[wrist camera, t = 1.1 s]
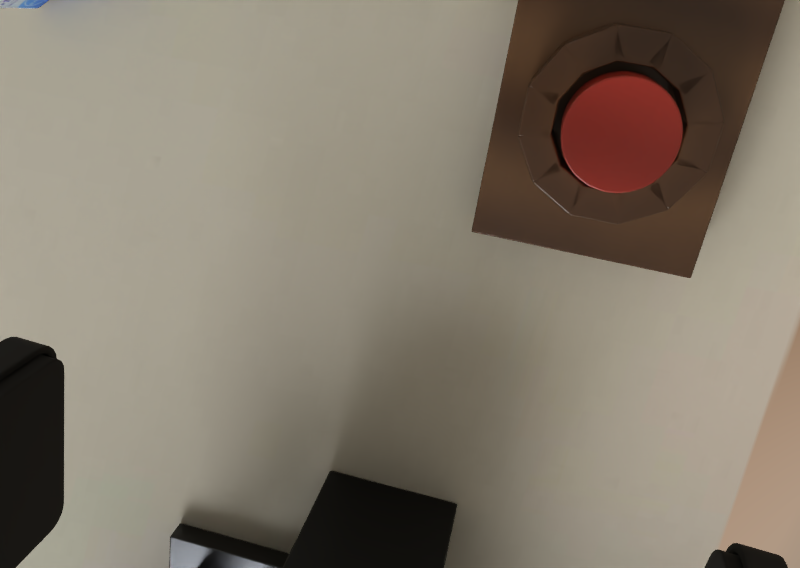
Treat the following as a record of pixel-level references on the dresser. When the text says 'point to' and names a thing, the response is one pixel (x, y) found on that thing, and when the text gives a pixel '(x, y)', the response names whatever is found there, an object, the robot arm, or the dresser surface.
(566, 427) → the dresser surface
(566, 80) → the button block
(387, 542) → the toaster
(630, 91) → the red button
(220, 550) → the lever bracket
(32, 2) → the medicine box
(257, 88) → the dresser surface
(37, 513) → the robot arm
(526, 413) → the dresser surface
